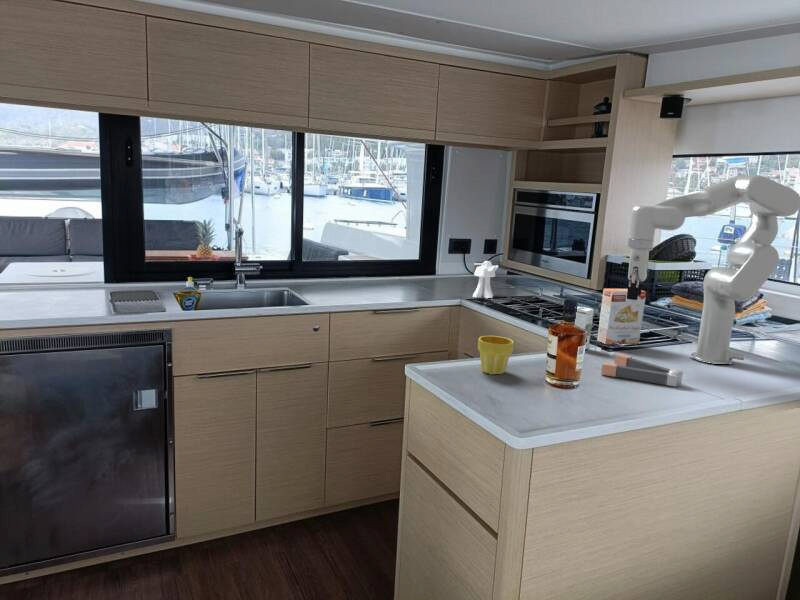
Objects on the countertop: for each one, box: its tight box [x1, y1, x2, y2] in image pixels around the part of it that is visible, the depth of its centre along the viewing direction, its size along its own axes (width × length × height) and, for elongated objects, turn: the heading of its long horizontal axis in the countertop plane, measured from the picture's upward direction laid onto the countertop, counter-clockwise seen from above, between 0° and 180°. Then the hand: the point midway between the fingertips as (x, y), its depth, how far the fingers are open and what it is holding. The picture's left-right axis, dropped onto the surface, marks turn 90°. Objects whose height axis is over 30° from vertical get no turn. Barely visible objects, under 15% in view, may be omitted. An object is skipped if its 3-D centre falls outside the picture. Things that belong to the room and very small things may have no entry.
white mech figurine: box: [472, 260, 500, 299], centre depth 300 cm, size 12×13×18 cm
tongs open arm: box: [614, 353, 672, 373], centre depth 183 cm, size 18×3×3 cm, turn 35°
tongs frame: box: [600, 361, 684, 388], centre depth 176 cm, size 22×5×4 cm, turn 65°
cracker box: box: [596, 288, 647, 345], centre depth 212 cm, size 14×6×21 cm, turn 105°
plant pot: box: [477, 335, 514, 375], centre depth 177 cm, size 10×10×10 cm
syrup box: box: [575, 306, 595, 350], centre depth 207 cm, size 6×6×14 cm
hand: (633, 297), depth 194 cm, fingers open, 9 cm apart
